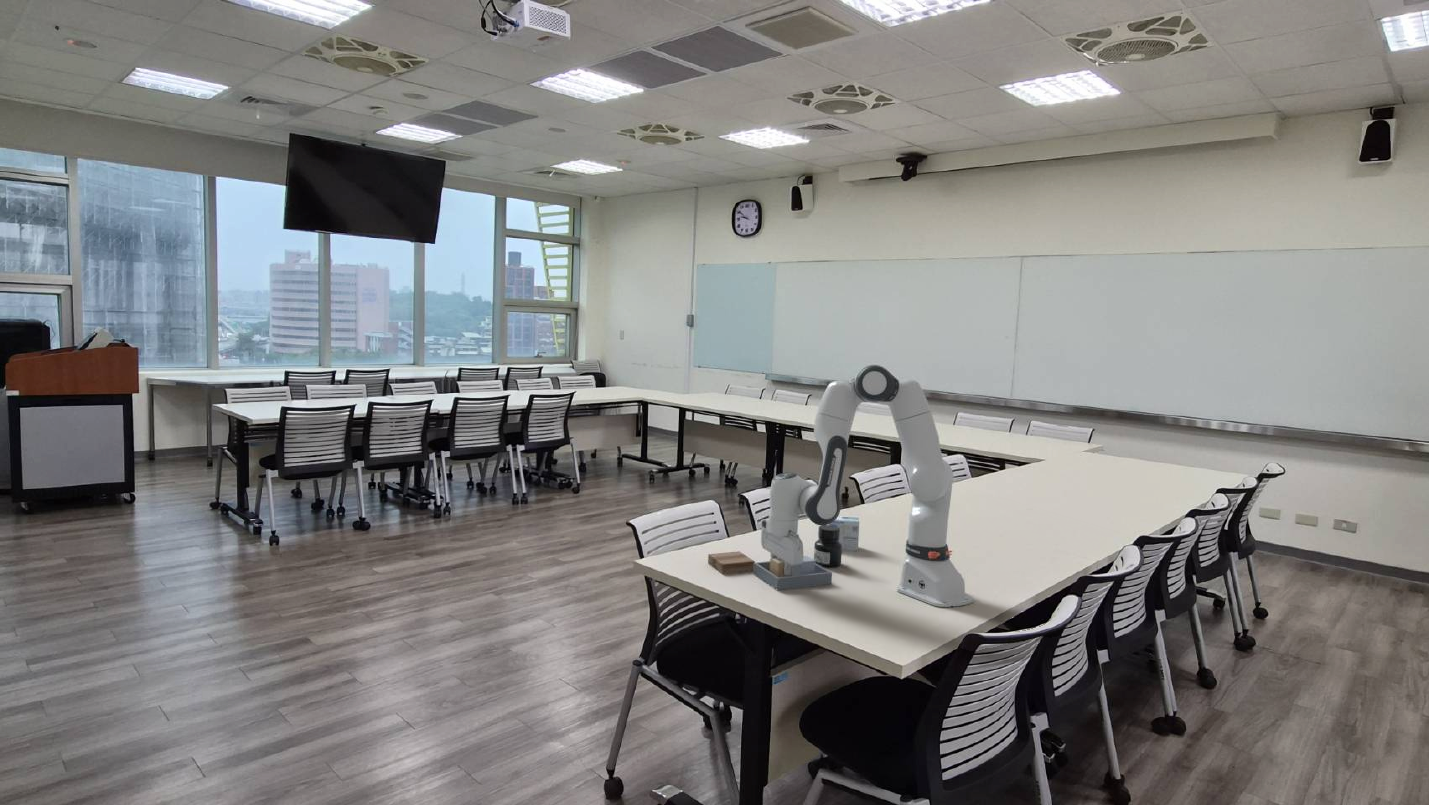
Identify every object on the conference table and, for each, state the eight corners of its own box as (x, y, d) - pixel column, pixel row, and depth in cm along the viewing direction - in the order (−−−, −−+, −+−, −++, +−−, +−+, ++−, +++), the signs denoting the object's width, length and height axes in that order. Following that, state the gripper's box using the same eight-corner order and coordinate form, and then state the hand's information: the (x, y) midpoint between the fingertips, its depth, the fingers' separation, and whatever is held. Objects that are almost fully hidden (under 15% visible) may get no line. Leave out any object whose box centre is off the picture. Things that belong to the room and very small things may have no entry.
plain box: (814, 579, 239) (815, 560, 238) (800, 581, 237) (801, 562, 236) (805, 574, 243) (806, 555, 243) (791, 576, 241) (792, 557, 241)
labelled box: (791, 581, 235) (792, 561, 235) (777, 583, 233) (778, 563, 233) (783, 576, 240) (784, 556, 239) (769, 578, 238) (770, 558, 237)
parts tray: (831, 584, 235) (832, 572, 235) (777, 590, 228) (777, 578, 227) (804, 568, 249) (805, 557, 249) (752, 573, 242) (753, 562, 241)
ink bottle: (808, 560, 258) (810, 524, 257) (831, 558, 261) (833, 523, 260) (822, 569, 249) (824, 532, 248) (846, 567, 252) (848, 530, 251)
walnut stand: (754, 570, 245) (754, 561, 245) (722, 574, 240) (722, 564, 240) (738, 560, 255) (739, 551, 255) (708, 563, 250) (708, 554, 250)
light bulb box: (856, 546, 277) (858, 516, 276) (858, 551, 270) (860, 521, 269) (826, 544, 278) (828, 514, 277) (827, 549, 271) (829, 519, 270)
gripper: (809, 534, 227) (807, 581, 228) (776, 517, 245) (774, 560, 247) (791, 536, 224) (788, 583, 226) (758, 519, 243) (756, 562, 244)
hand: (780, 571), depth 236 cm, fingers closed on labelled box, 5 cm apart
